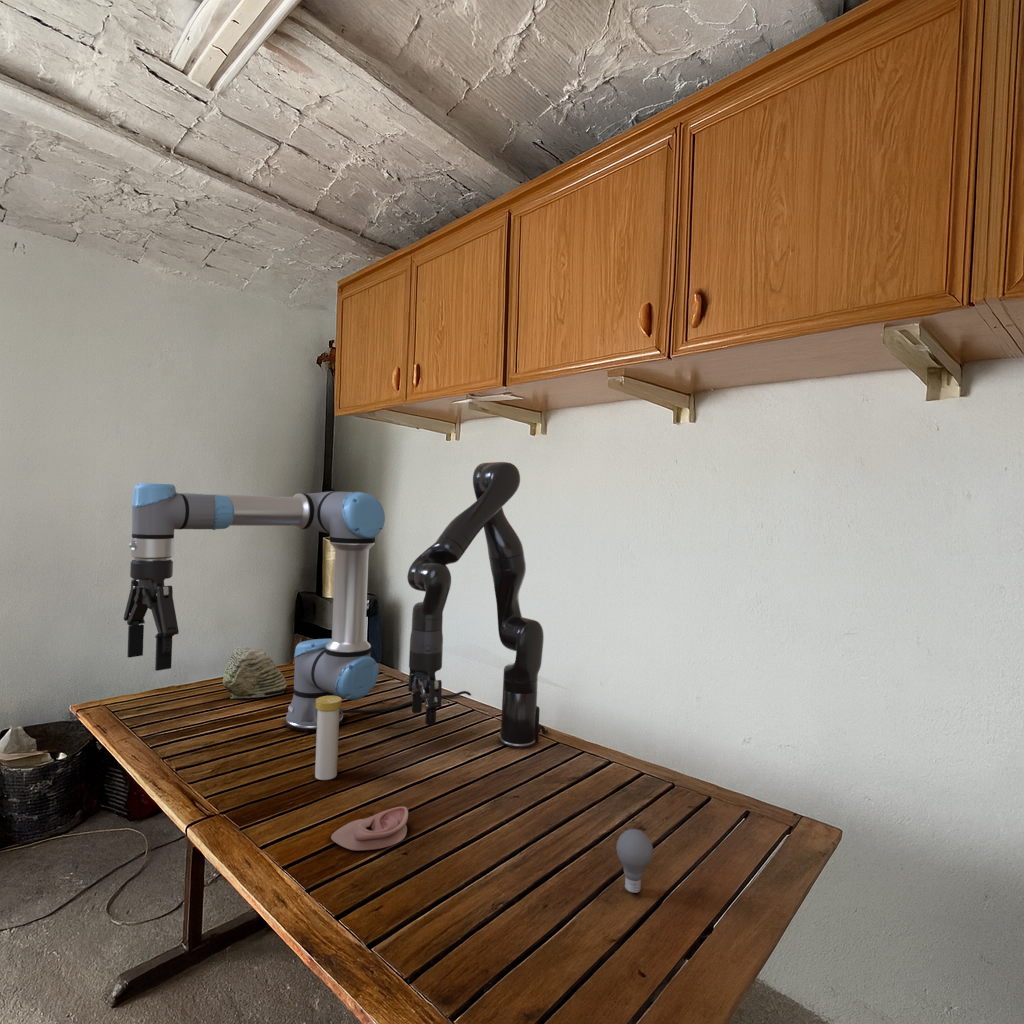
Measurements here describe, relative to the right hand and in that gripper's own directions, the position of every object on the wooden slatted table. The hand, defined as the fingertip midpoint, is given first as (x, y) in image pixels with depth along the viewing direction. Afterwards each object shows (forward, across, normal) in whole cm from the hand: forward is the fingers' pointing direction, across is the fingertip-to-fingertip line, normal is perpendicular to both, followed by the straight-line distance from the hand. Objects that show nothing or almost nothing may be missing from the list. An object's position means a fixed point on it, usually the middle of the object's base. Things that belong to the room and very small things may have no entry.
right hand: (423, 718), depth 145 cm
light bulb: (+13, -55, -16) cm, 59 cm away
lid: (-4, +9, +20) cm, 22 cm away
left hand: (-15, +13, +55) cm, 59 cm away
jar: (+13, +9, +20) cm, 25 cm away
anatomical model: (+13, -20, +18) cm, 30 cm away
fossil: (+13, +75, +26) cm, 81 cm away
